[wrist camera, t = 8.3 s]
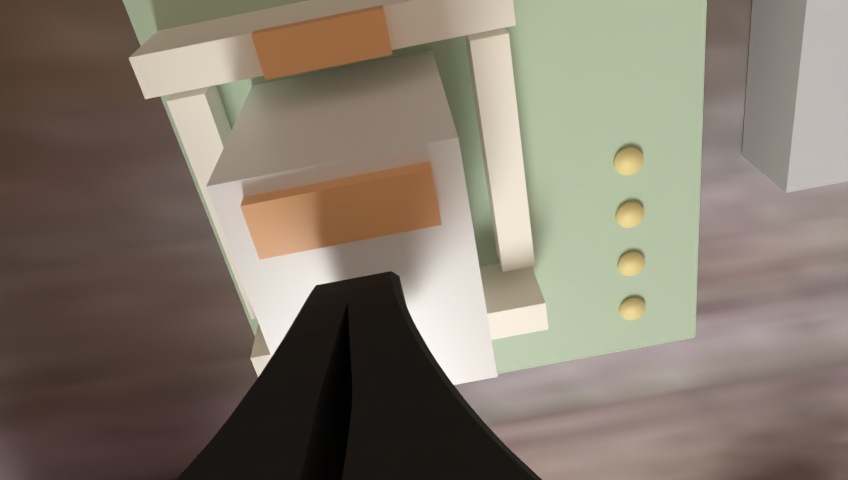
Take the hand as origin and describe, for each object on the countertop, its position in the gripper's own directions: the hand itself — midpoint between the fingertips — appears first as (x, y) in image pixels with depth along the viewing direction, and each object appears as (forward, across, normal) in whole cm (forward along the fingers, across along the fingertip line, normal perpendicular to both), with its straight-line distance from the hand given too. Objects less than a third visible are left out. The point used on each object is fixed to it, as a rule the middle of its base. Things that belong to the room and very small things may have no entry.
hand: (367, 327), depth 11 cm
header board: (+7, -2, +1) cm, 7 cm away
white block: (+6, 0, 0) cm, 6 cm away
